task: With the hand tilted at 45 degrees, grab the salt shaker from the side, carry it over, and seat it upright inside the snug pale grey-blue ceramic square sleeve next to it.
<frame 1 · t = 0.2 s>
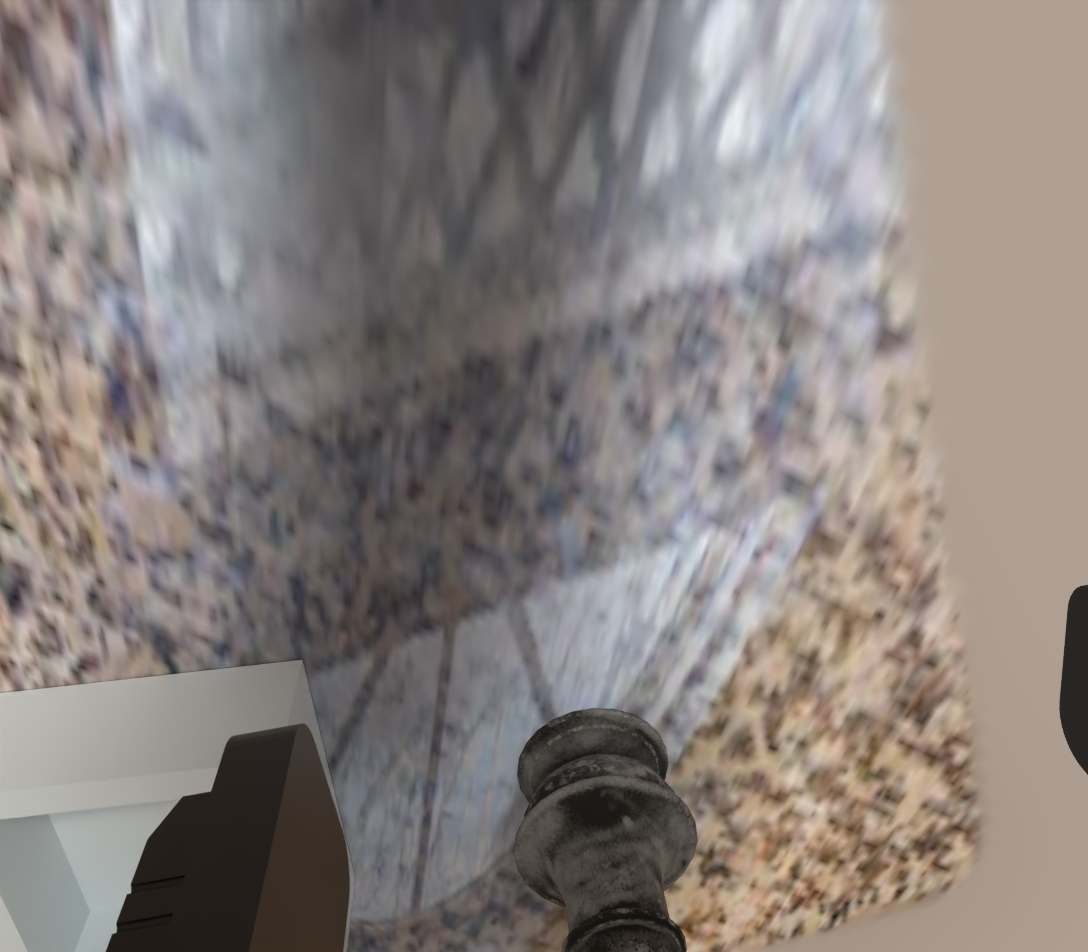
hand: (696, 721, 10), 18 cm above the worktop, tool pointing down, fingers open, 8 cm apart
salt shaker: (592, 763, 35), on the worktop
sleeve: (183, 792, 34), on the worktop
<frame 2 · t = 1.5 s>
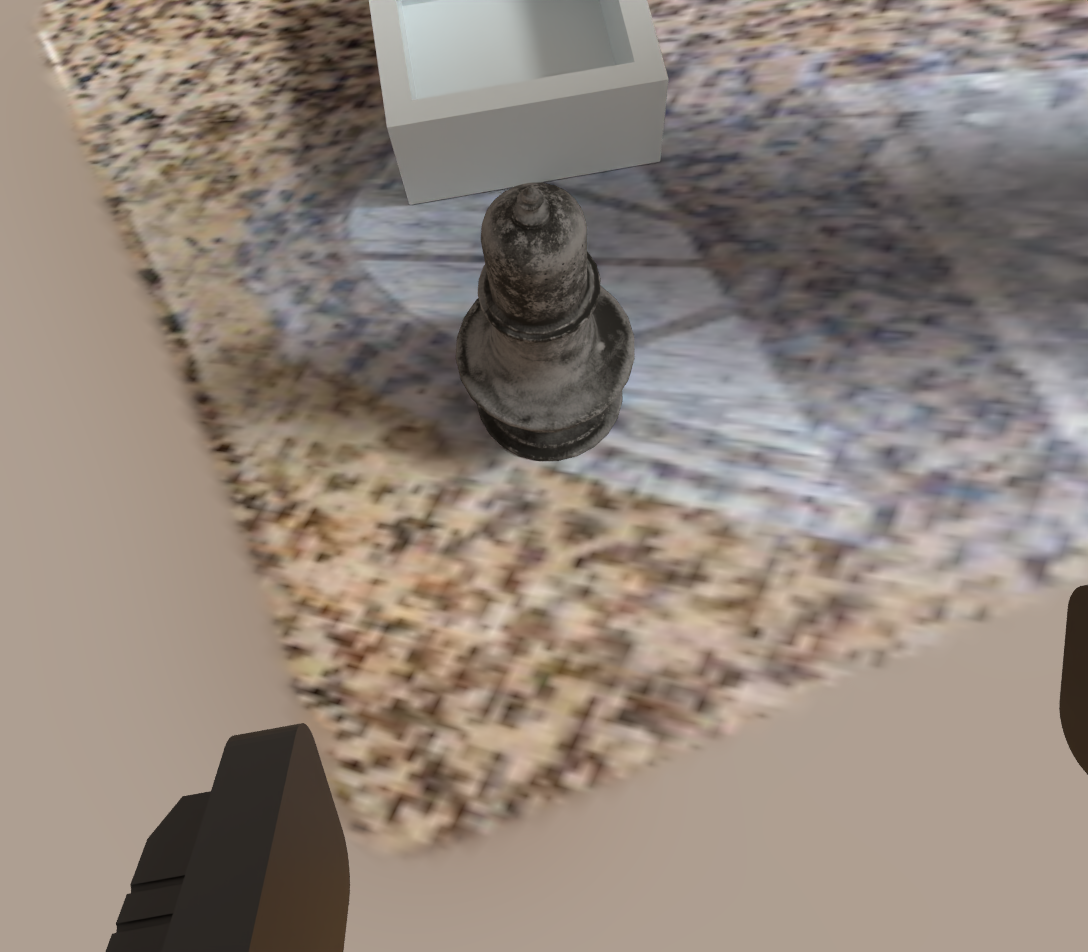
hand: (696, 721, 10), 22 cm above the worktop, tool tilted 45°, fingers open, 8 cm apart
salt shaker: (549, 395, 36), on the worktop
sleeve: (514, 83, 40), on the worktop
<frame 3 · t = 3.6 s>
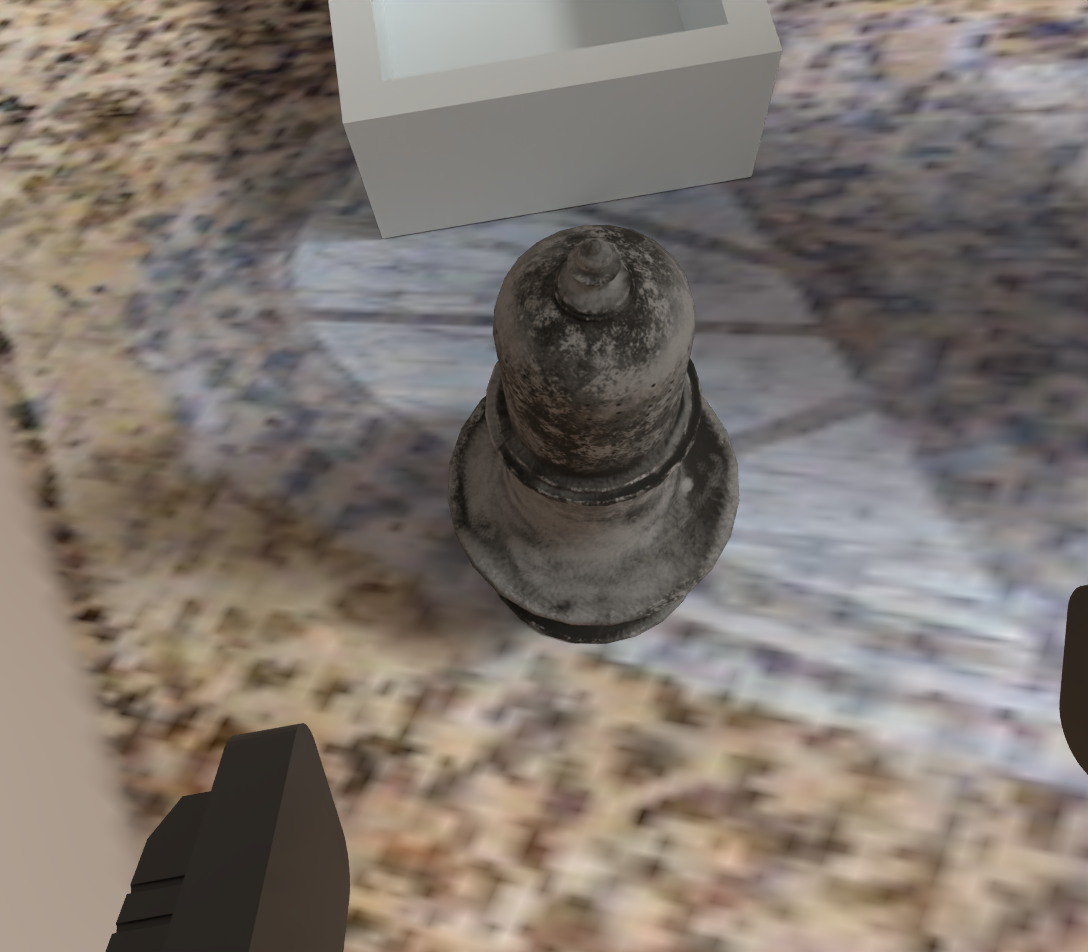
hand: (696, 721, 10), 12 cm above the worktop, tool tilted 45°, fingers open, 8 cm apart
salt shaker: (592, 534, 23), on the worktop
sleeve: (537, 62, 28), on the worktop
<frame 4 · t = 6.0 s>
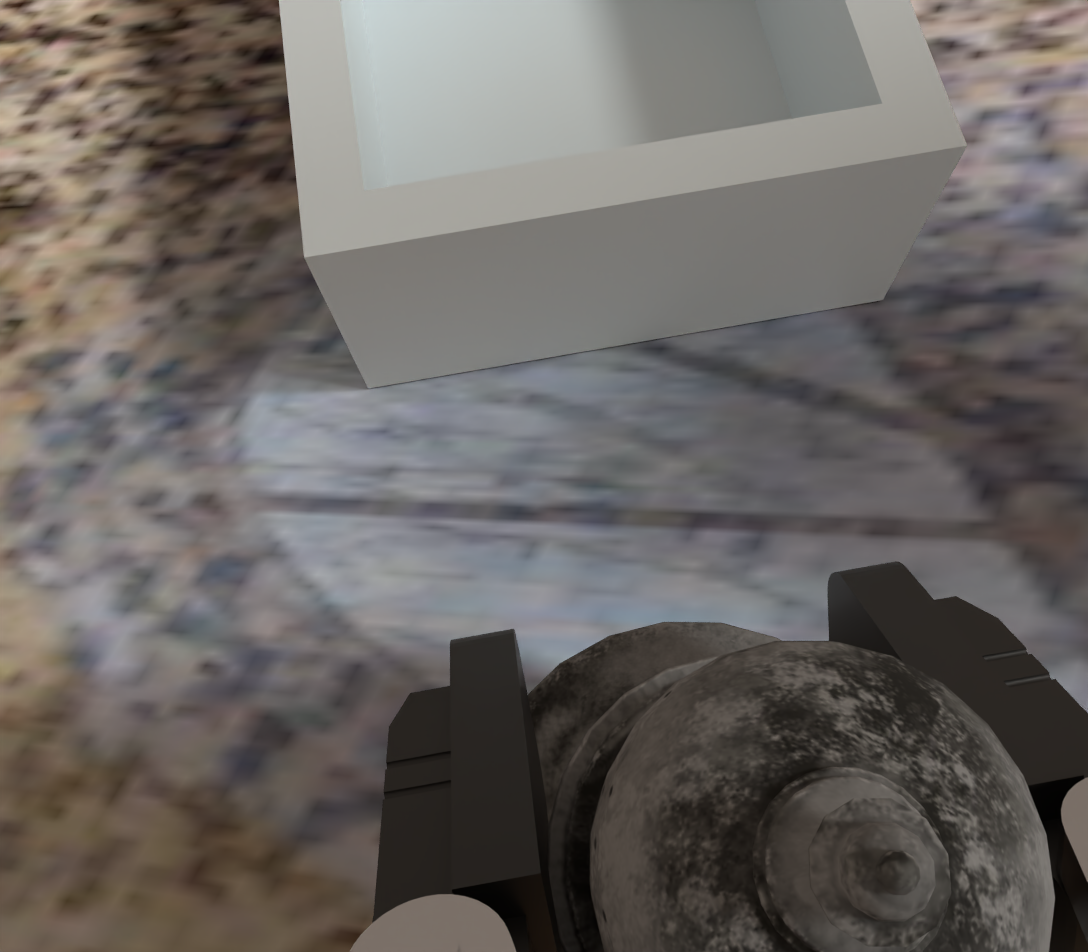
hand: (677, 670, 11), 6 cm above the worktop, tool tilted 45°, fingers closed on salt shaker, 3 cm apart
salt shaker: (674, 849, 16), on the worktop, touching gripper
sleeve: (579, 134, 21), on the worktop
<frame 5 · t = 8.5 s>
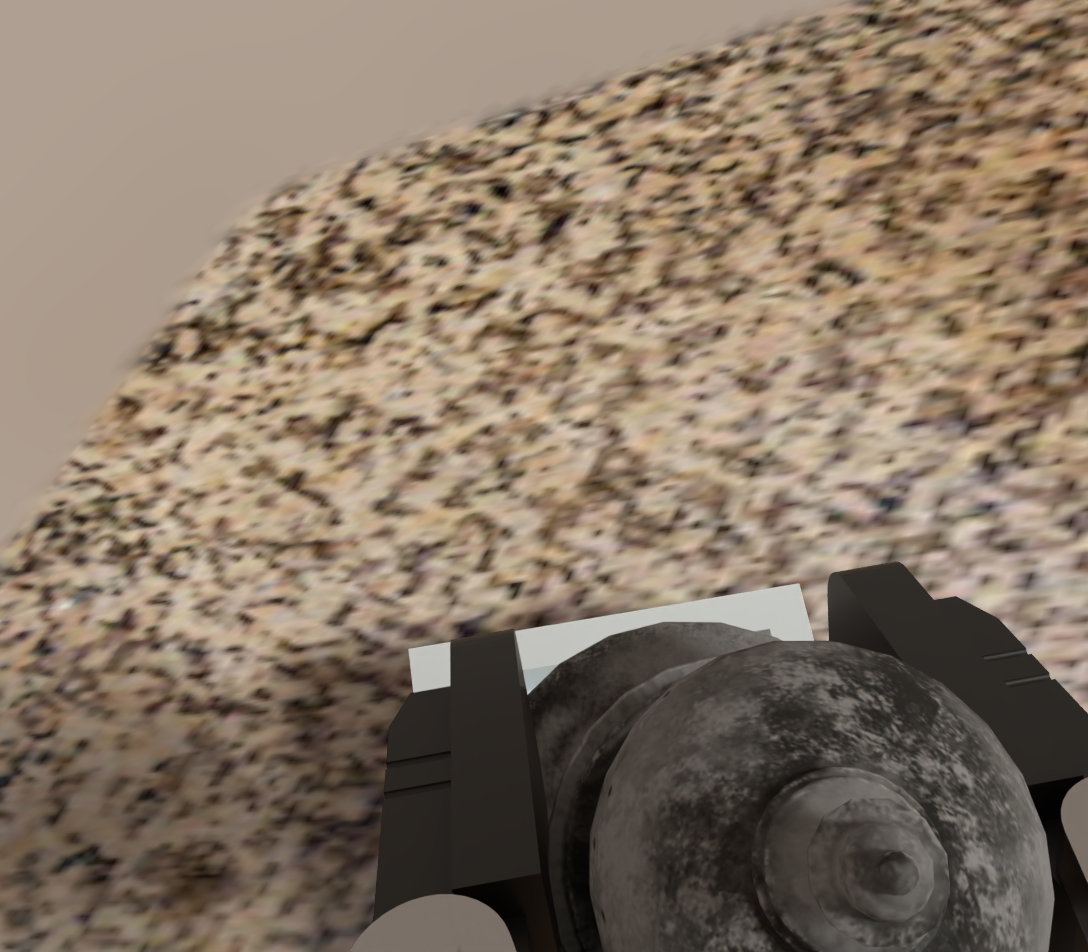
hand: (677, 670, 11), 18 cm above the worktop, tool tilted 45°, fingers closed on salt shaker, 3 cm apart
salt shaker: (674, 849, 16), point 12 cm above the worktop, touching gripper
sleeve: (633, 825, 27), on the worktop
when the fingers open (8 cm above the worktop, at t = 11.3 s): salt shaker drops 1 cm, resting on sleeve.
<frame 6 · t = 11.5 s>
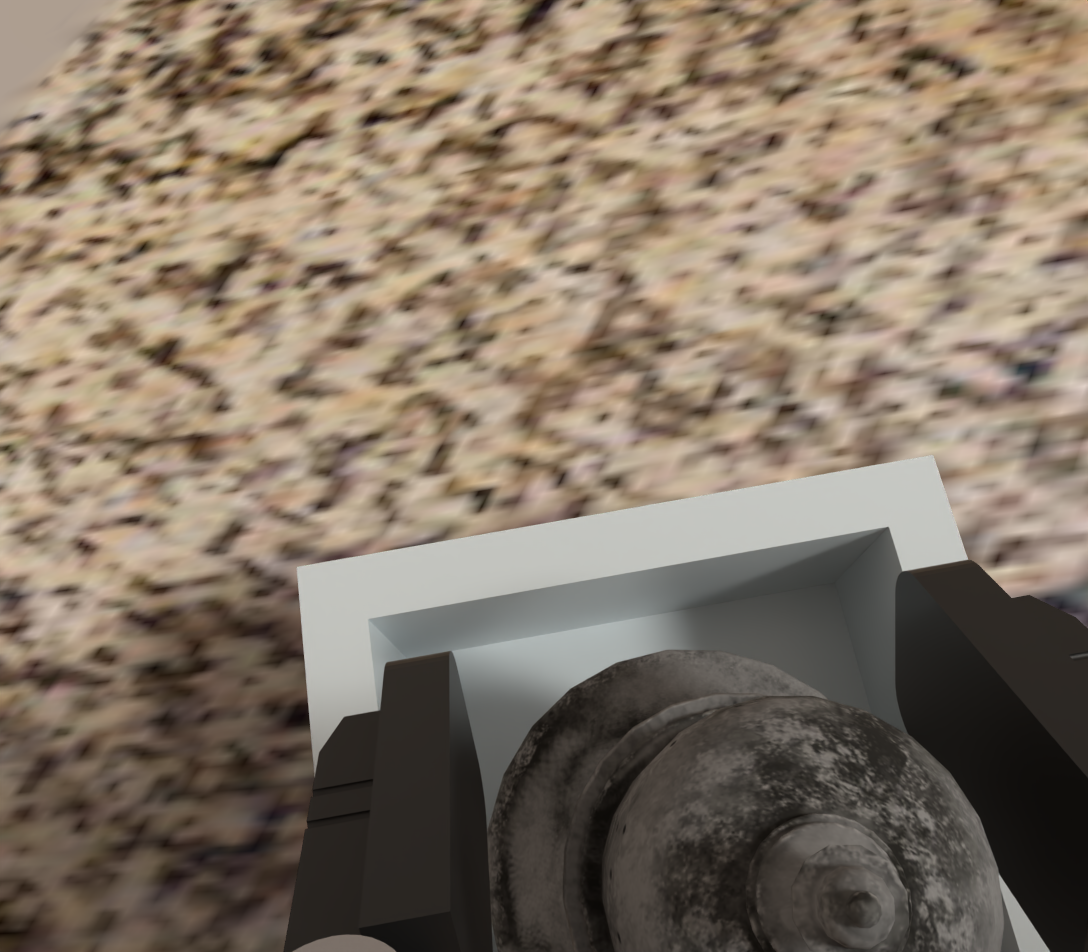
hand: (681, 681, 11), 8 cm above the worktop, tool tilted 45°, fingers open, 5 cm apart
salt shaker: (676, 858, 17), point 1 cm above the worktop, touching sleeve
sleeve: (663, 848, 18), on the worktop
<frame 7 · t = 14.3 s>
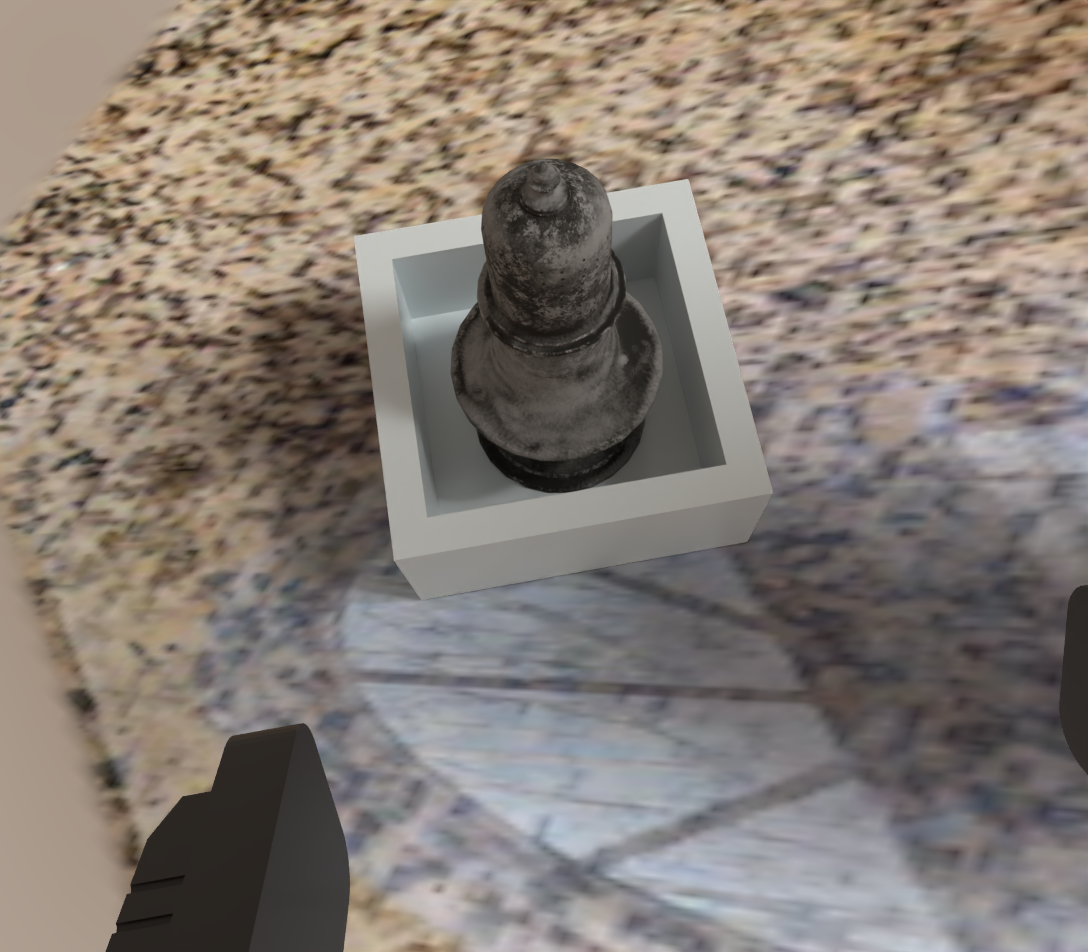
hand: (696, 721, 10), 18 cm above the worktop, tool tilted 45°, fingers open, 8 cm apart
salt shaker: (559, 415, 31), point 1 cm above the worktop, touching sleeve
sleeve: (555, 421, 32), on the worktop
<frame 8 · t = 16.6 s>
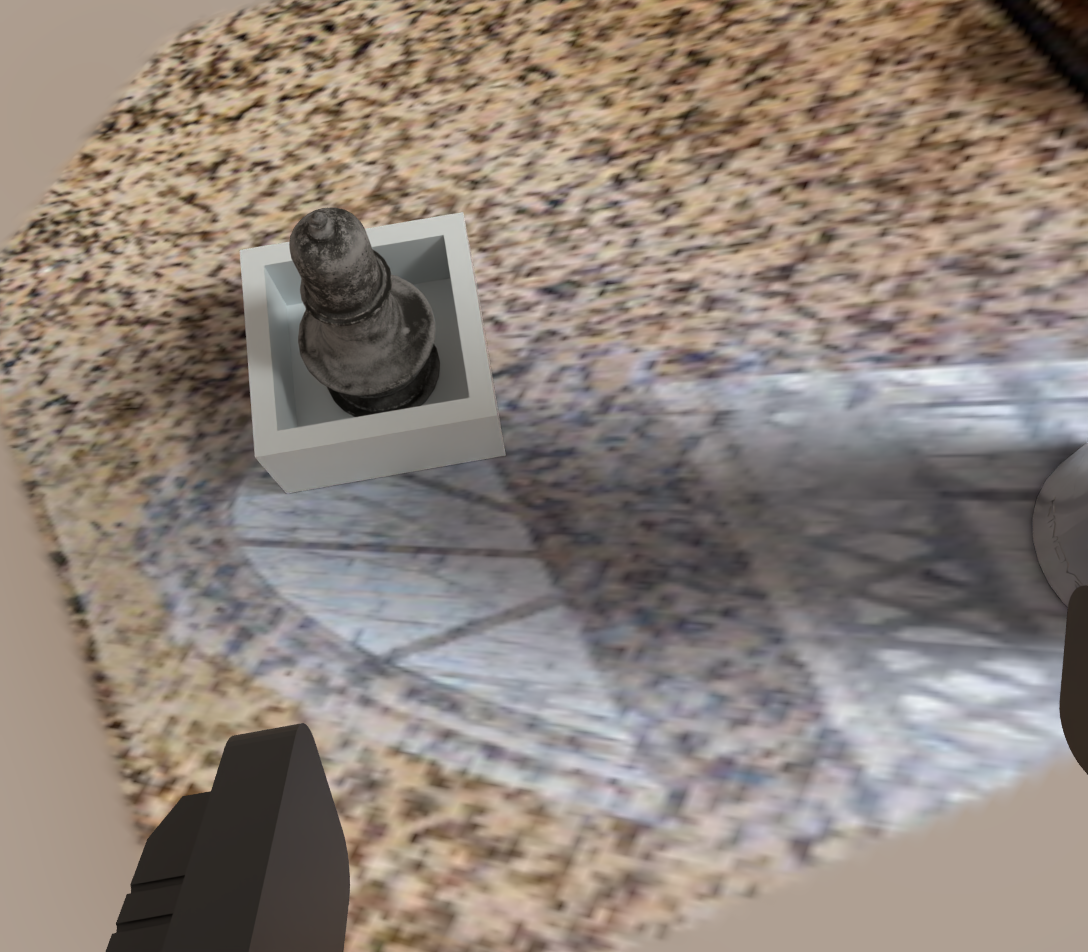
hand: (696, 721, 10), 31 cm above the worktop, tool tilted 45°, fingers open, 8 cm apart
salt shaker: (383, 371, 45), point 1 cm above the worktop, touching sleeve
sleeve: (384, 376, 46), on the worktop
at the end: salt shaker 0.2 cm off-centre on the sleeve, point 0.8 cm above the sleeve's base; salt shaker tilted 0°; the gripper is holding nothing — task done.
